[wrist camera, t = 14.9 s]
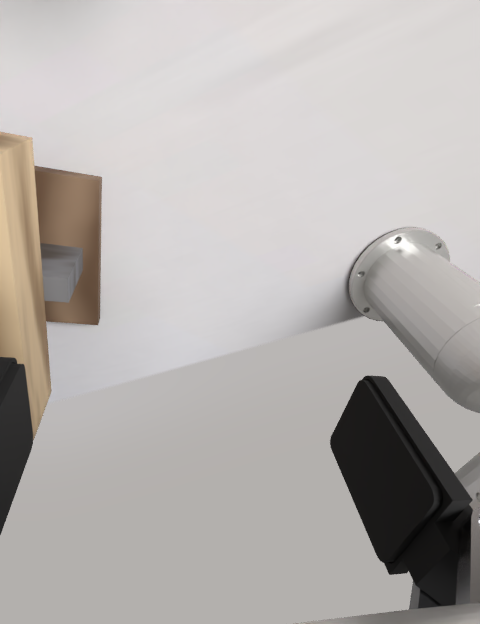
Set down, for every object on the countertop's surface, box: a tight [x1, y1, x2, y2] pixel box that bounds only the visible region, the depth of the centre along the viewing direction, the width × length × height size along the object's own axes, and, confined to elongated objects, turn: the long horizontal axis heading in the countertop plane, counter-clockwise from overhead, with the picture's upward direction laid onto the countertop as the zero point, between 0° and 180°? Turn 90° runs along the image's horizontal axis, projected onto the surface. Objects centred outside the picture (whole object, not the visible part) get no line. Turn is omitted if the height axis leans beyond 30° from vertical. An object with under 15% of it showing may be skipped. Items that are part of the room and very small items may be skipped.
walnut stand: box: [34, 166, 102, 325], centre depth 34 cm, size 12×16×8 cm
